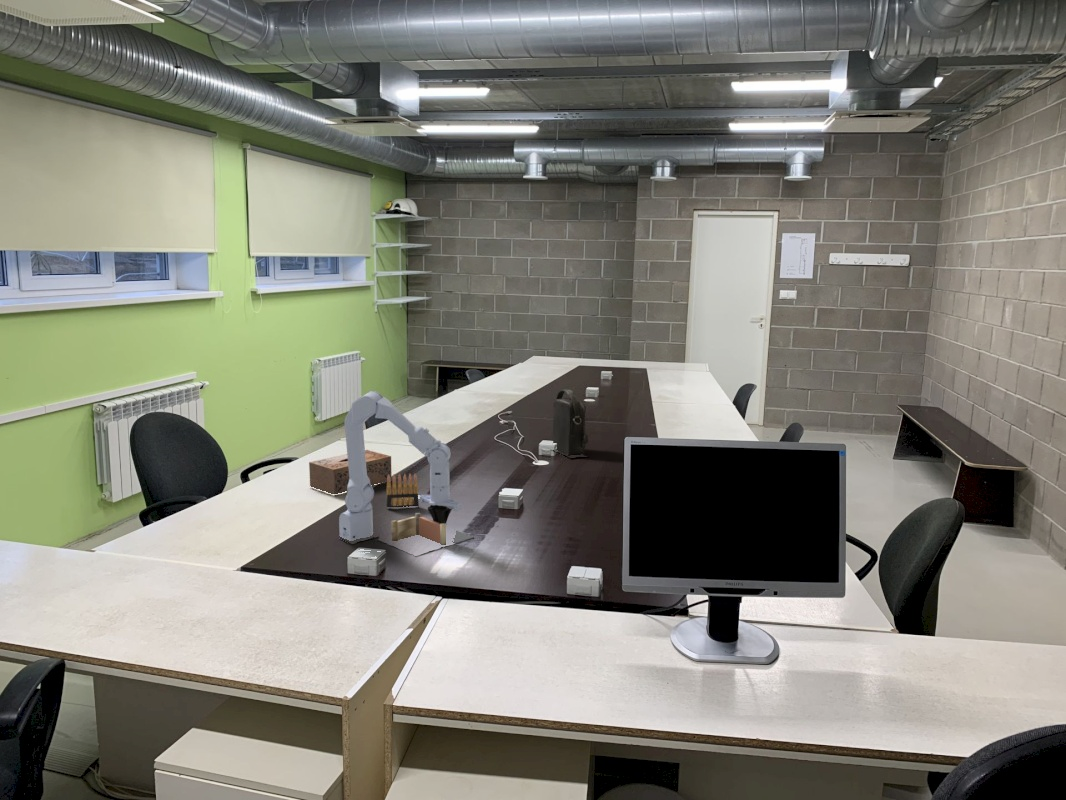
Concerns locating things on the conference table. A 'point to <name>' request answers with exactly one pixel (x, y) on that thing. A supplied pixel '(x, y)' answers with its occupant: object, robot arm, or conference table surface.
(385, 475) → the tissue box cover
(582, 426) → the shoulder bag
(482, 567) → the conference table surface
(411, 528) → the fence base
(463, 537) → the card
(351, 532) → the robot arm
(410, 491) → the ammunition clip
